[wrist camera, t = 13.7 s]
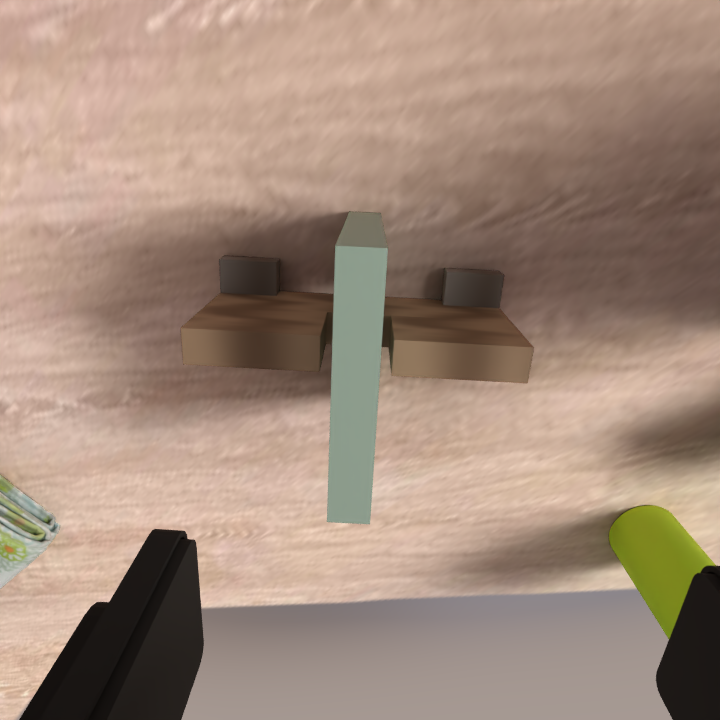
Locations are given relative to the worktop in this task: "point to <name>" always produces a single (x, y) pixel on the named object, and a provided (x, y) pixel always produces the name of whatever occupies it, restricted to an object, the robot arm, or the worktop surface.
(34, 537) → the towel
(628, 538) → the soap dispenser
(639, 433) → the worktop surface
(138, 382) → the worktop surface
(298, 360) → the walnut slotted board
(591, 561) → the worktop surface
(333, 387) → the sage slotted plate
